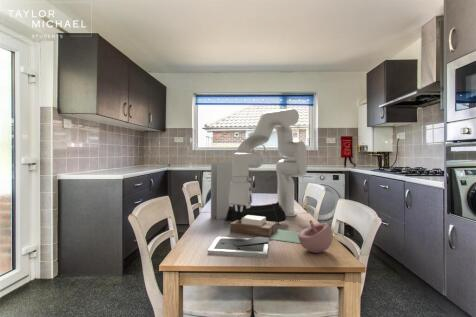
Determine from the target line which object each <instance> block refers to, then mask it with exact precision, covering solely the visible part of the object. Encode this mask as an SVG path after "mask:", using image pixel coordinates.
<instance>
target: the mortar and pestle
mask: <svg viewBox="0 0 476 317" xmlns="http://www.w3.org/2000/svg"><path fill="white" fill-rule="evenodd" d="M309 224H310V225H309V226H308V227H306V228H304V229H302V230H301V231H299V232H300V233H299V234H298V238H299V241H300V243H301V244H300V245H301V246H302V247H303V248H304V249H305V250H306V251H308V252H310V253H314V254H315V253H316V254H318V253H323V252H325V251H327V249H329V248H330V247H331V245H332V242H333V239H334V238H333V231H332V229H331V228H332V227H330V225H329V224H328V223H327V222H318V223H315V224H314V222H313V220H312V219H310V220H309Z"/></svg>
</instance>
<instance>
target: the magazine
mask: <svg viewBox="0 0 476 317" xmlns="http://www.w3.org/2000/svg"><path fill="white" fill-rule="evenodd" d="M245 206H247V205H245ZM280 206H281V207H280ZM240 207H241V205H240ZM246 215H253V216H262V217H266V221H272V222H277V225H279V224H280V223H281V222H286V221H287V216H286V215H285V212H284V210H283V207H282V205H281V204H280V205H279V202H277V201H276V202H275V203H274V202H273V203H268V204H262V205H261V204H260V205H259V204H258V205H252V204H251V208H246V209H245V210H244V217H245V216H246ZM236 220H237V218H236V211H235V209H234V208H233V207H231V206H229V209H228V212H227V215H226V218H224V222H228V223H232V222H234V221H236Z"/></svg>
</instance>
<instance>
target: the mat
mask: <svg viewBox="0 0 476 317" xmlns="http://www.w3.org/2000/svg"><path fill="white" fill-rule="evenodd" d="M300 232H301V231H294V230H286V229H277V231H276V232H275V233H274V234H273V235H272V236H271V237H269V240H273V241H279V242H284V243H285V242H286V243H294V244H300V245H301V243H300V241H299V238H298V234H299V233H300Z"/></svg>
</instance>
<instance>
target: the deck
mask: <svg viewBox="0 0 476 317" xmlns="http://www.w3.org/2000/svg"><path fill="white" fill-rule="evenodd" d="M277 231H278V223H277V222H272V221H266V222H265V223H264V224H263V225H261V226H258V225H250V224H242V220H241V221H239V220H236V221H234V222H229V234H230V233H231V234H237V235H245V236H252V237H267V238H270V237H271V236H272V235H273V234H274V233H275V232H277Z"/></svg>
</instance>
